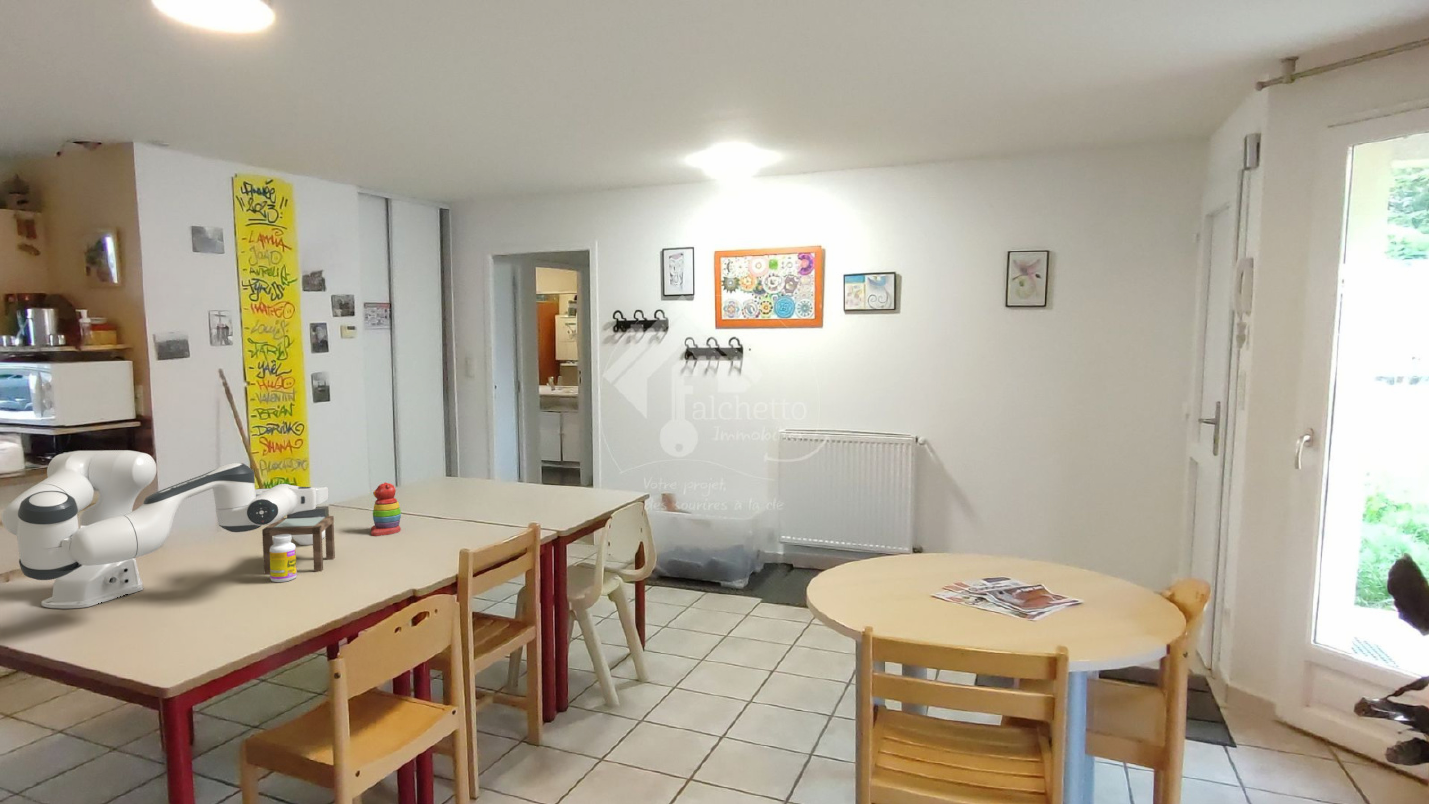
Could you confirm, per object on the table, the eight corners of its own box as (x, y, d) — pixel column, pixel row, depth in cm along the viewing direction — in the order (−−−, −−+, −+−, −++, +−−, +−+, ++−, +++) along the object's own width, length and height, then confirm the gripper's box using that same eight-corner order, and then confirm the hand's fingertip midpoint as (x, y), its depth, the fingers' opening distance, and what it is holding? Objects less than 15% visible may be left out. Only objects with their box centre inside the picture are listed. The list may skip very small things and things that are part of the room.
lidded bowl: (338, 538, 266) (337, 507, 265) (315, 548, 254) (314, 515, 253) (304, 537, 268) (303, 506, 267) (280, 546, 255) (279, 514, 254)
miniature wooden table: (281, 560, 240) (279, 518, 239) (335, 557, 243) (333, 515, 242) (264, 574, 226) (262, 529, 225) (321, 571, 229) (319, 527, 228)
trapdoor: (291, 526, 243) (291, 507, 242) (329, 524, 245) (328, 506, 245) (274, 538, 228) (273, 519, 227) (314, 536, 230) (313, 517, 230)
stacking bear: (370, 529, 278) (369, 481, 277) (400, 526, 283) (399, 479, 281) (371, 536, 269) (369, 487, 267) (402, 533, 273) (400, 484, 271)
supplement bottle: (289, 583, 218) (287, 539, 217) (265, 583, 218) (263, 539, 217) (301, 575, 225) (299, 533, 224) (278, 575, 225) (276, 532, 224)
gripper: (242, 512, 217) (261, 501, 231) (320, 509, 221) (333, 499, 235) (241, 490, 217) (260, 481, 230) (319, 488, 221) (333, 479, 234)
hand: (298, 490), depth 233 cm, fingers open, 8 cm apart
